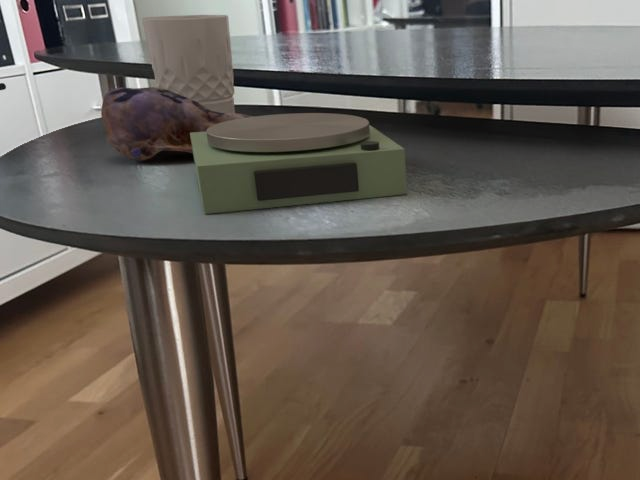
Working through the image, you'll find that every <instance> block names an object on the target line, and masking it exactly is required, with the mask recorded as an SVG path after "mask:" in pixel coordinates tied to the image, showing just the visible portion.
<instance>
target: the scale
mask: <svg viewBox="0 0 640 480" xmlns="http://www.w3.org/2000/svg"><path fill="white" fill-rule="evenodd" d="M369 129H370V134H369V136H368V137H366V138H365V139H363V140H360V141H357V142H354V143H350V144H346V145H341V146H336V147H329V148H322V149H314V150H304V151H289V152H243V151H231V150H224V149H220V148H216V147H213V146H211V145H209V143H208V140H207V133H206V132H193V133H190V137H191V143H192V150H193V153H192V156H193V162H194V169H195V175H196V179H197V184H198V188H199V193H200V199H201V203H202V208H203V212H204V215H211V214H212V215H213V214H221V213H222V214H223V213H232V212H241V211H242V212H243V211H252V210H262V209H272V208H282V207H283V208H285V207H293V206H304V205H313V204H323V203H324V204H325V203H333V202H343V201H353V200H364V199H374V198H384V197H393V196H402V195H403V196H405V195H408V184H407V183H408V182H407V163H406V149H405V148H404V147H402V146H401V145H400V144H398V143H396V141H393V139H391V138H389V137H388V136H386V135H385V134H383V133H382V132H381V131H379V130H378V129H376V128H375V127H373V126H372V125H370V124H369Z"/></svg>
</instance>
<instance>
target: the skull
mask: <svg viewBox="0 0 640 480" xmlns="http://www.w3.org/2000/svg"><path fill="white" fill-rule="evenodd" d="M100 114H101V115H100V117H101V121H102V122H103V125H104V128H105V129H106V131H107V136H106V141H107V143H108V144H109V146H110V147H111V148H114V149H115V150H116V151H118V152H119V153H120V154H121V155H122V156H124V157H125V158H128V159H131V160H134V161H137V162H145V160H146V161H148V160H150V159H152V158H153V157H155V156H156V155H158V153H161V152H162V151H171V152H187V153H190V154H193V150H192V143H191V137H190V133H193V132H206V130H207V129H208V128H209V127H211V126H213V125H215V124H218V123H221V122H225V121H230V120H235V119H241V118H247V117H253V116H252V115H247V114H243V113H238V112H237V113H236V112H235V113H221V112H216V111H212V110H209V109H207V108H205V107H204V106H202V105H201V104H199V103H198V102H197V101H195V100H193V99H190V98H187V97H184V96H181V95H179V94H177V93H175V92H172V91H169V90H166V89H162V88H157V87H154V86H152V87H151V86H150V87H140V88H139V87H137V88H135V87H134V88H133V87H123V86H121V87H116V88H113V89H112V90H110V91H108V92H107V93H105V95H104V97H103V101H102V104H101V112H100Z"/></svg>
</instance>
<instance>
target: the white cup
mask: <svg viewBox="0 0 640 480" xmlns="http://www.w3.org/2000/svg"><path fill="white" fill-rule="evenodd" d="M141 20H142V25H143V30H144V34H145V39H146V43H147V48H148V54H149V58H150V63H151V67H152V71H153V73H154V81H155V84H156V88H162V89H166V90H169V91H172V92H175V93H177V94H179V95H181V96H184V97H187V98H190V99H193V100H195V101H197V102H198V103H199V104H201V105H202V106H204V107H205V108H207V109H209V110H212V111H216V112H221V113H236V109H235V108H236V107H235V98H234V95H235V86H234V83H235V82H234V81H235V80H234V66H233V57H232V56H233V55H232V43H231V36H230V35H231V32H230V21H229V16H228V15H226V14H185V15H161V16H149V17H142V18H141Z"/></svg>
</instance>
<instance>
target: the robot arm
mask: <svg viewBox="0 0 640 480" xmlns="http://www.w3.org/2000/svg"><path fill="white" fill-rule="evenodd" d="M6 89H7V85H6V83H3V82H0V91H5V90H6Z"/></svg>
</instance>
